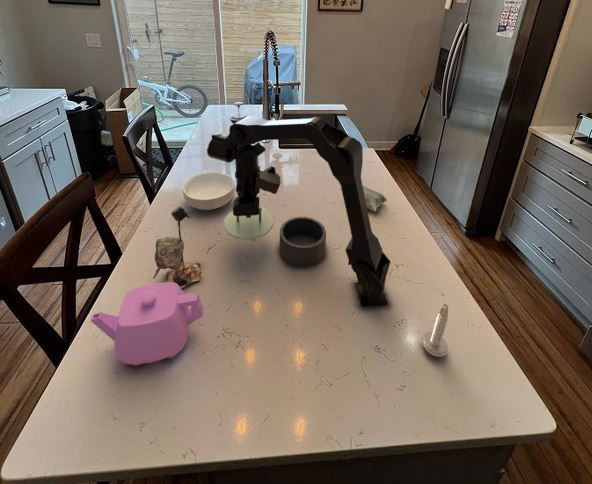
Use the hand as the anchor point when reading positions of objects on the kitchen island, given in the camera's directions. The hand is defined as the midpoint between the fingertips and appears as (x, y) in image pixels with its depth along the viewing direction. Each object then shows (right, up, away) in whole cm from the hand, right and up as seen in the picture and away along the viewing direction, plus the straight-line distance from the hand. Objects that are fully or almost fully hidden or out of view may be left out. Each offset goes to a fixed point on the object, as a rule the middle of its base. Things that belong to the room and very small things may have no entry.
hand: (249, 216), depth 89 cm
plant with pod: (-17, -14, -6) cm, 23 cm away
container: (+15, -10, +4) cm, 18 cm away
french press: (-12, +13, +59) cm, 61 cm away
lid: (0, -2, +1) cm, 2 cm away
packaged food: (+37, -2, +24) cm, 44 cm away
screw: (+41, -22, -22) cm, 51 cm away
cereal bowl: (-16, -2, +23) cm, 28 cm away
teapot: (-16, -20, -21) cm, 34 cm away
